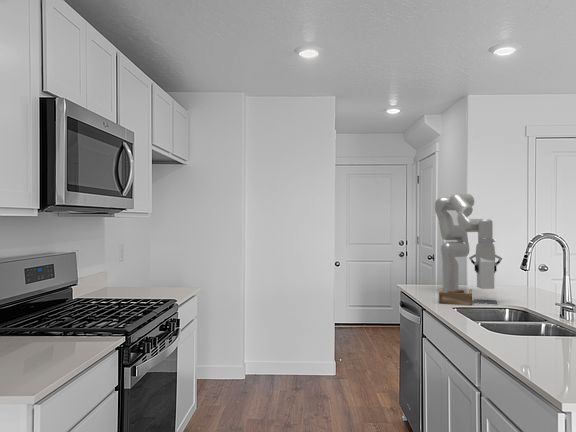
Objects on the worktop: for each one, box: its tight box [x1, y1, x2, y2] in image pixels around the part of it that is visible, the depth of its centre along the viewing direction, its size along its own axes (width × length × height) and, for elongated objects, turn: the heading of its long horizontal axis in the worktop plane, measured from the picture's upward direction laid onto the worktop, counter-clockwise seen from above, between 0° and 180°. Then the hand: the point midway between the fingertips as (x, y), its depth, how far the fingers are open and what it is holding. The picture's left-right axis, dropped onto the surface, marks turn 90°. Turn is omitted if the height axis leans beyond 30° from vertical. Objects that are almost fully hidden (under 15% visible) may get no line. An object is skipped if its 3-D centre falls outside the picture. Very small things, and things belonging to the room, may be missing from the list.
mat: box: [473, 298, 499, 305], centre depth 279 cm, size 12×12×1 cm
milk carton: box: [476, 258, 495, 290], centre depth 279 cm, size 7×7×19 cm
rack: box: [438, 287, 473, 306], centre depth 280 cm, size 18×17×6 cm
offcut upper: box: [447, 289, 465, 293], centre depth 286 cm, size 4×10×3 cm, turn 127°
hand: (485, 272), depth 279 cm, fingers closed on milk carton, 8 cm apart
